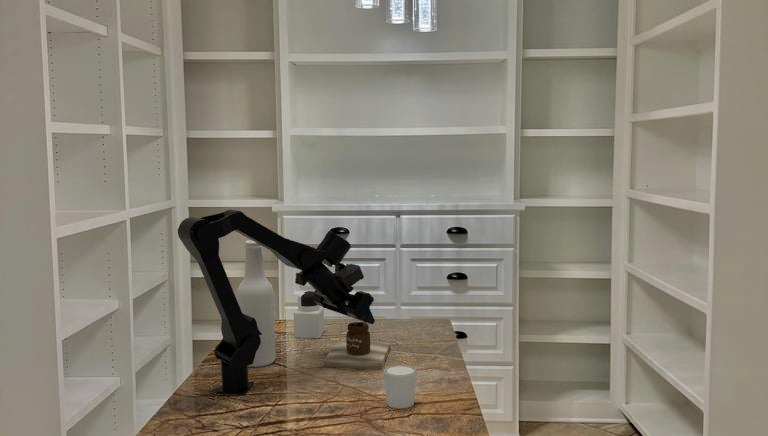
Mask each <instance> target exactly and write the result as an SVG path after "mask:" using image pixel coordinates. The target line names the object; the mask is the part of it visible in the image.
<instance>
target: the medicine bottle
mask: <svg viewBox="0 0 768 436" xmlns="http://www.w3.org/2000/svg"><path fill="white" fill-rule="evenodd" d="M314 291H315V290H313V291H312V290H305V291H302V292H299V293H298V294H297V309H296V310H295V311H294V312H293V335H294V336H293V337H294V338H295V339H320V338H321V336H322V335H323V334H324V332H325V308H323V307H322V306H319V305H317V304H316V303H315V302H314V301H313V296H314V294H315V292H314Z"/></svg>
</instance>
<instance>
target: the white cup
mask: <svg viewBox="0 0 768 436" xmlns="http://www.w3.org/2000/svg"><path fill="white" fill-rule="evenodd" d="M417 372H418V369H417V368H415V367H414V366H413V367H412V366H409V365H404V364H403V365H401V364H400V365H399V364H398V365H390V366H387V367H386V368H384V369H383V379H384V391H385V399H386V405H387V407H389V408H392V409H400V410H401V409H408V408H411V407H413V406H414V405H415V397H416V387H417V386H416V385H417Z"/></svg>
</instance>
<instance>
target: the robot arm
mask: <svg viewBox="0 0 768 436" xmlns="http://www.w3.org/2000/svg"><path fill="white" fill-rule="evenodd" d="M233 232H236V233H238V234H240V235H242V236H243V237H245V238H247V239H248V240H252V241H254V242H256V243H258V244H260V245H261V246H262V248H266V249H267V250H269V251H270V252H271V253H272V254H273V255H274V256H275V257H276V258H277V259H278V260H279V261H280V262H282V264H284V265H285V266H287V267H289V268H293V269H297V270H300V272H296V273H295V280H294V283H295V284H296V285H299V286H304V287H305V286H306V284H307V283H308V284H309V285H310V286H311V287H312V288H313V289H314V290H313V291H314V292H315V294H314V296H313V301H314V302H315V303H316V304H317V305H319V306H320V307H323V308H324V309H326V310H329V311H332V312H334V313H338V314H341V315H343V316H346V317H348V316H349V315H350V316H349V317H348V318H352V319H354V320H357V321H360V322H366V323H367V324H368V325H369V324H370V325H374V324H375V322H376V320H375V318H374V315H373V313H372V311H371V306H372V304H373V302H374V301H375V298H374V297H373V296H372V294H370V293H369V292H366V291H363V290H359V291H356V292H355V293H354V294H352V291H353V290H354V288H355V287H354V285H355V284H357V283H358V282H359V281H361V280H363V279H364V278H365V275H364V273H363V271H362V269H361V266H360V265H359V264H354V263H349V264H348V263H346V264H344V263H343V262H342V261H343V259H344V258H345V256H346V255H347V253H348V252H349V251H350V250H351V249H352V246H351V244H350V242H349V241H348V240H346V239H344V238H343V237H341V236H340V235H338V234H336V233H335V231H331V230H328V231H327V233H326V234H325V236H324V238H323V239H322V241H320V243H319V244H318V246H317V247H313V246H311V245H307V244H304V243H301V242H299V241H295V240H292V239H289V238H286V237H284V236H282V235H280V234H279V233H276V232H275V231H273V230H272V229H270V228H268V227H266V226H264V225H263V224H262V223H259V222H258V221H256V220H254V219H253V218H251V217H249V216H247V215H246V214H245V213H244V212H242V211H241V210H235V209H227V210H224V211H221V212H219V213H215V214H210V215H206V216H201V217H193V216H191V217H186V218H184V219H183V220H182V221H181V223H180V224H179V226H178V228H177V235H178V236H177V237H178V238H179V240H180V241H181V243H182V244H183V246H184V247H185V249H186V250H187V251H188V253H189V254H190V255H191V256H192V257H193V258H194V260H196V262H197V264H198V266H199V268H200V271H201V273H202V275H203V279H204V280H205V283H206V285H207V287H208V289H209V292H210V295H211V298H212V299H213V302H214V304H215V306H216V310H217V311H218V314H219V316H220V318H221V324H220V325H221V326H220V327H221V328H220V331H221V334H222V336H221V337H222V339H221V340H220V342H219V343H218V345H217V346H216V347H215V348H214V349H213V354H214V356H215V359H216V360H219V361H220V370H221V371H220V372H221V386H220V387H219V388H217V389H216V391H215V393H216V394H224V395H225V394H227V395H228V394H229V395H246V394H247V393H248V391H249V390H250V389H251V388H252V387H253V386H254V385H255V382H254V381H249V367H248V365H251V364H253V362H254V358H255V355H256V351H257V350H258V348H259V346H260V344H261V339H260V336H259V335H262V333H261V332H260V331H259V329H258V327H257V322H256V320H255V318H252V317H250V316H248V315H245V314H243V313H242V311H241V309H240V306H239V304H238V301H237V295H236V294H235V292H234V289H233V287H232V284H231V282H230V280H229V277H228V274H227V272H226V270H225V267H224V264H223V263H222V260H221V258H220V240H219V239H221V238H224V237H226V236H228V235H229V234H231V233H233ZM333 266H334V273H335V274H334V273H333V272H332V271H331V269H329V268H332V267H333Z"/></svg>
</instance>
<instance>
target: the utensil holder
mask: <svg viewBox="0 0 768 436" xmlns="http://www.w3.org/2000/svg"><path fill="white" fill-rule="evenodd" d="M349 316H350V315H349ZM349 316H347V317H348V318H349V321H352V320H351V318H350V317H349ZM352 319H353V322H350V323H349V324H348V323H347V332H346V337H345V338H346V340H345V341H346V348H347V352H348V354H351V355H365V354H368V353H369V352H370V342H371V333H370V331H369V323H367V322H364V321H355V318H352Z"/></svg>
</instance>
